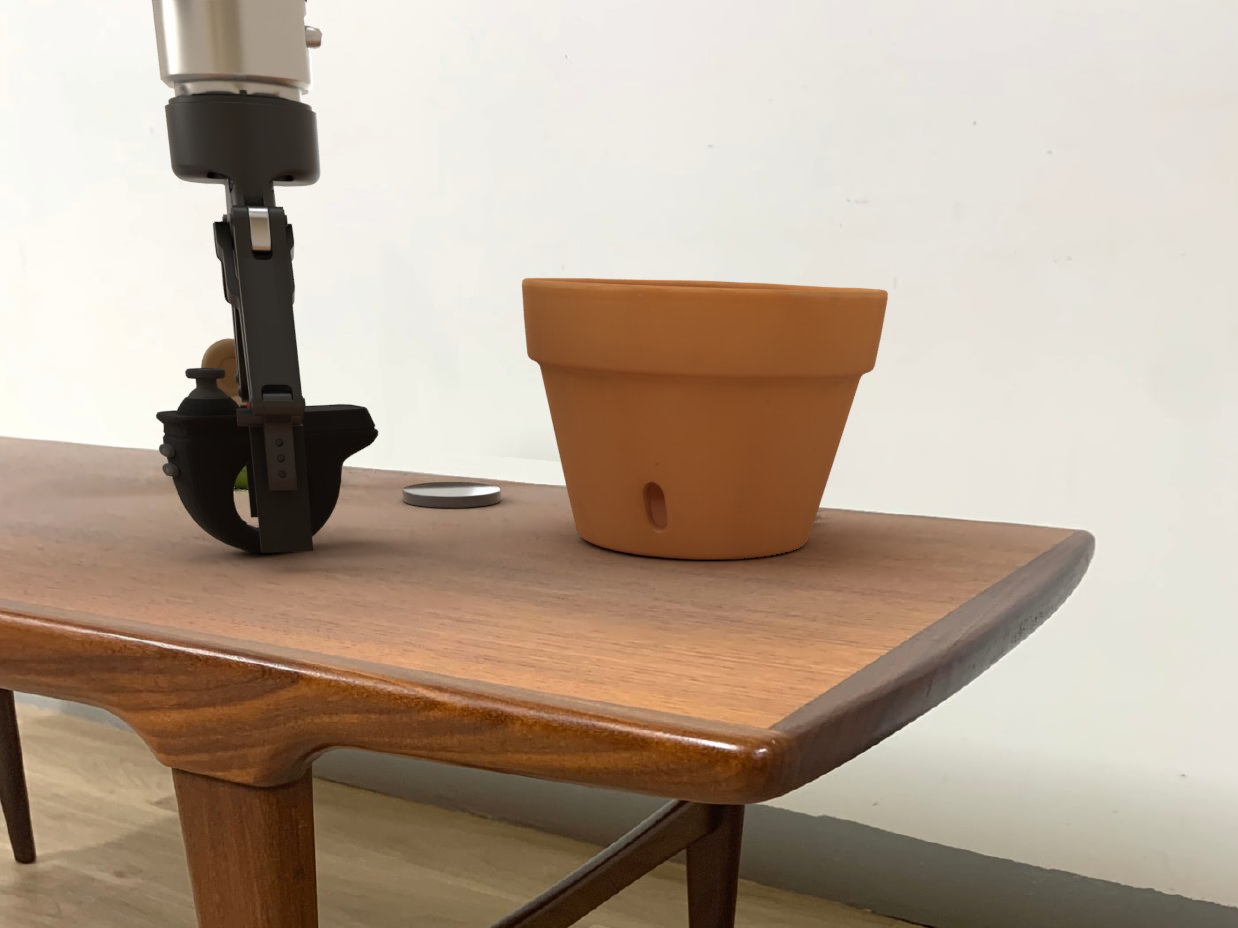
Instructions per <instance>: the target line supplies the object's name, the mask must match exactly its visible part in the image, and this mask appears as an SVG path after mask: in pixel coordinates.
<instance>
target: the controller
mask: <svg viewBox="0 0 1238 928" xmlns="http://www.w3.org/2000/svg"><path fill="white" fill-rule="evenodd" d="M184 374H185V377H186V378H187V379H190V380H195V388H194V389H192V390H191V391H190V392H189V393H188V394H187V396H185V397H184V398H183V399H182V400H181V402H180V404H179V405H178V407H177V409H176V410H174V409H173V410H162V411H157V413H156V414H155V419H156V420H158V421H159V422H160V423H161V424H162V425H163V433H164V434H163V436H162V443H161V444H159V447H158V451H159V453H160V454H161V455H162V456H163V457H165V458H166V461H167V462H166V463H164V464H163V465H162V472H163V473H164V474H165V475H166V476H168V477H170V478H171V479H172V482H173V485H174V487H175V490H176V492H177V495H178V498H179V500H180V502H181V503H182V505H183V507H184V509H185V510H186V512H187V513H188V514H189V516H190V517H191V519H192V520H193V521H194V522H195V523H196V525H197V526H199V528H201V529H202V530H203V531H204V532H206V534H208V535H209V536H211V537H213V538H214V539H215V540H217V541H219V542H221V543H223V544H225V545H228V546H230V547H233V548H235V549H237V550H238V549H239V550H242V551H244V552H250V553H255V554H263V553H262V552H261V545H260V534H259V526H254V525H252V524H248V522H247V521H245V520H243V518H242V517H241V515H240V514H239V512H238V510H237V506H236V503H235V502H236V501H235V494H234V492H235V487H234V485H235V482H236V479H237V476H238V475H239V473H240V472H242V471H241V470H242V469H243V468H244V467H245V466H246V465H247V464H248V463H249V462H251V461H252V452H251V442H250V432H249V426H238V424H237V410H236V408H240V406H239V405H238V404H237V402H236V401H235V400H233V399H232V398H231V397H229V396H228V395H227V394H226V393H225V392H223V391H222V390H221V389H219V388H218V387H217V379H222V378H224V377H225V371H224V369H220V368H201V367H194V368H193V367H190V368H186V369H185V370H184ZM247 408H250V405H249V403H248V404H247ZM303 417H304V418H302V420H301V424H302V425H303V431H304V444H305V456H306V468H307V480H308V493H309V505H310V517H311V530H312V538H313V537H314V536H315V535H316V534H317V533H318V532H320V530H321V529H322V528H323V527H324V526H325V524H326V523H327V522H328V520H329V519H330V518H331V516H332V515H333V512H334V510H335V508H336V506H337V504H338V500H339V497H340V493H341V492H340V491H341V486H342V477H343V476H342V475H343V466H344V463H345V462H346V460H348V459H349V458H350V457H352V456H354V455H355V454H357V453H359V452H361V451H362V450H364V449H366V448H368V447H370V446H371V445H372V444H373V443H374V442H375V440H376V439H377V438H378V436H379V429H377V428H376V424H375V421H374V420H373V417H372V416H371V413H370V411H369V409H368V408H367V407H365V406H362V405H357V404H349V403H347V404H346V403H337V404H336V403H335V404H318V405H317V404H316V405H313V404H312V405H306V408H305V412H303Z"/></svg>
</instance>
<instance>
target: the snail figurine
mask: <svg viewBox="0 0 1238 928" xmlns="http://www.w3.org/2000/svg"><path fill="white" fill-rule="evenodd" d="M200 368H220V369H224V371H225V377H224V378H222V379H217V387H218V388H219V389H221V390H222V391H223V392H225V393H226V394H227V395H228V396H229V397H231V398H232V399H233V400H235V401H236V402H237V404H238V405H239V406H240V405H247V404H248V403H242V402H241V398H240V397H238V388H239V385H237V383H236V380H235V374H236V373H237V365H236V354H235V342H234V338H229V337H228V338H222V339H219V340H217V341H214V342H213V343H212V344H211V345H209V346H208V347H207V349H206V350H205V351H204V354H203V356H202V359H201V364H200ZM234 488H238V489H243V490H248V483H247V473H246V466H245V467H244V468H243V469H242V470H241V472H240V473H239V475H238V476H237V479H236V482H235V485H234Z"/></svg>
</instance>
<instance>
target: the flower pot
mask: <svg viewBox="0 0 1238 928" xmlns="http://www.w3.org/2000/svg"><path fill="white" fill-rule="evenodd" d="M521 292H522V309H523V322H524V323H523V324H524V334H525V345H526V355H527V357H528V358H529V359H530V360H531V361H533V362H536V363H537V365H539V369H540V373H541V377H542V382H543V387H544V391H545V396H546V400H547V405H548V410H549V413H550V419H551V423H552V426H553V431H554V436H555V442H556V446H557V450H558V454H559V459H560V464H561V469H562V473H563V477H564V481H565V487H566V491H567V496H568V500H569V503H570V508H571V512H572V516H573V522H574V525H575V530H576V532H577V534H578V535H579V536H580V537H581V538H582V539H583V540H584V541H586V542H588V543H590V544H592V545H595V546H597V547H601V548H604V549H607V550H611V551H616V552H620V553H626V554H632V555H639V556H647V557H655V558H666V559H679V560H681V559H682V560H744V558H745V559H756V557H758V558H765V557H764V556H766V557H772V556H771V555H773V556H777V555H776V554H779V555H782V554H781V553H783V554H786V553H785V552H788V553H791V552H794V551H797V550H798V549H801V548H802V547H803V546H805V545H806V544H807V542H808V540H809V539H810V536H811V532H812V530H813V527H814V524H815V521H816V518H817V515H818V511H819V508H820V505H821V502H822V499H823V496H824V493H825V489H826V487H827V483H828V481H829V477H830V475H831V471H832V468H833V465H834V462H835V459H836V456H837V452H838V449H839V446H840V445H841V440H842V437H843V434H844V431H845V428H846V425H847V421H848V418H849V415H850V413H851V409H852V406H853V403H854V400H855V397H856V393H857V390H858V387H859V383H860V380H861V379H862V377H863V375H865V374H868V373H871V372H872V371H873V370H874V368H875V367H876V363H877V358H878V353H879V348H880V342H881V338H882V332H883V327H884V322H885V317H886V311H887V306H888V305H887V304H888V300H889V297H888V296H889V292H888V291H887V290H885V289H881V288H880V289H879V288H867V287H866V288H864V287H835V286H834V287H833V286H818V285H817V286H815V285H797V284H782V283H768V282H767V283H766V282H741V281H740V282H739V281H723V280H692V279H691V280H688V279H687V280H686V279H685V280H684V279H631V278H630V279H629V278H628V279H627V278H624V279H623V278H591V277H590V278H589V277H526V278H524V279H522V281H521ZM800 547H801V548H800ZM796 549H797V550H796ZM793 550H794V551H793Z"/></svg>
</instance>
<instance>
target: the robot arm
mask: <svg viewBox="0 0 1238 928" xmlns="http://www.w3.org/2000/svg"><path fill="white" fill-rule="evenodd" d="M151 4H152V5H151V6H152V14H153V15H152V17H153V24H154V32H155V33H154V35H155V41H156V42H155V43H156V50H157V58H158V59H157V60H158V66H159V67H158V71H159V77H160V81H161V82H162V83H164V84H165V85H166V86H167V87H168V88H170V89H173V90H174V96H173V97H170V98H169V99H168V100H167V101H168V103H167V104H166V105H164V113H165V121H166V130H167V139H168V149H169V158H170V166H171V170H172V172H173V174H174V175H175V177H176V178H178V179H179V180H181V181H184V182H188V183H195V184H204V185H209V184H210V185H222V186H224V193H225V205H226V213H223V214H222V216H221V219H222V220H221V221H216V220H215V221H213V222H212V231H213V241H214V242H213V243H214V249H215V250H214V251H215V255H216V258H217V259H218V260H219V262H220V268H221V281H222V290H223V297H224V300H225V301H226V303H228V304H229V305H230V308H231V321H232V329H233V330H232V331H233V339H234V342H235V354H236V365H237V373H236V374H235V380H236V383H237V385H239V388H238V397H240V398H241V402H242V403H249V405H250V408H247V405H240V408H236V410H237V424H238V426H249V432H250V442H251V452H252V461H251V462H249V463H248V464H247V465H246V471H245V472H246V473H247V483H248V489H247V493H248V502H249V512H250V518H257V523H258V527H259V534H260V545H261V552H262V553H261V554H273V553H296V552H314V544H313V543H314V542H313V537H312V530H311V517H310V505H309V493H308V480H307V468H306V456H305V444H304V431H303V425H302V424H301V420H302V418H304V417H303V412H305V408H306V406H307V403H306V398H305V397H304V396H303V390H302V389H303V388H302V381H301V371H300V362H299V352H298V351H299V350H298V341H297V332H296V323H295V314H294V313H295V312H294V304H295V299H296V298H295V297H296V284H295V276H294V275H295V274H294V268H293V260H294V258H295V237H294V227H293V223H288V222H289V221H288V215H287V214H286V213H285V212H286V211H285V209H284V206H277V203H276V194H275V187H285V188H286V187H292V188H293V187H307V186H313V185H314V184H316V183H317V182H318V181H319V179H320V177H321V159H320V147H319V146H320V145H319V133H318V119H317V113H316V112H315V111H313V107H312V106H311V105H310V104H308V103H305V102H303V96H305V95H308V94H309V93H310V92H311V91H312V90H313V89H314V79H313V78H314V77H313V76H314V75H313V63H312V55H311V52H310V50H309V49H314V50H317V49H320V48H321V47H322V46H323V43H324V41H323V33H322V31H321V30H320V28H318V27H315V26H312V25H306V24H305V20H306V19H307V18H308V16H309V10H308V5H307V4H308V0H151Z"/></svg>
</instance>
